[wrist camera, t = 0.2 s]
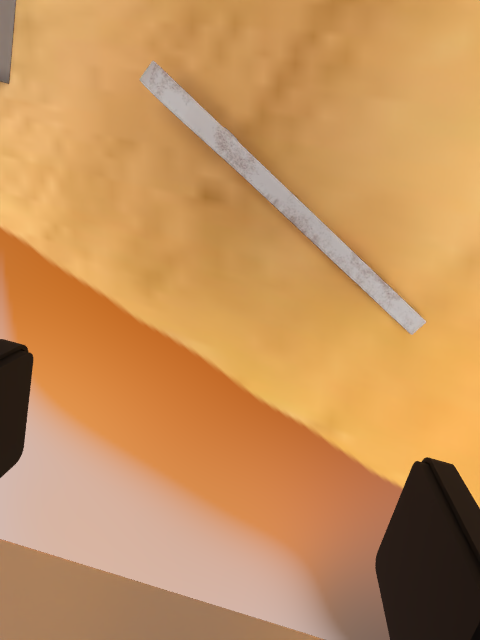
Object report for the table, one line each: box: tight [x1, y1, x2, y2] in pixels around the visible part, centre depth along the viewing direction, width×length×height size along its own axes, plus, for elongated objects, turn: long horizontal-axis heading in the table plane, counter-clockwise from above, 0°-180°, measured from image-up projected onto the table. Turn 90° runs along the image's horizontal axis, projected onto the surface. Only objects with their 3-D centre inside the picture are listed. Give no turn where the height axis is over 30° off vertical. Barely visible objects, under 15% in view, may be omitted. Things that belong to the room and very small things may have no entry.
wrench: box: [140, 61, 426, 335], centre depth 36 cm, size 8×2×30 cm
